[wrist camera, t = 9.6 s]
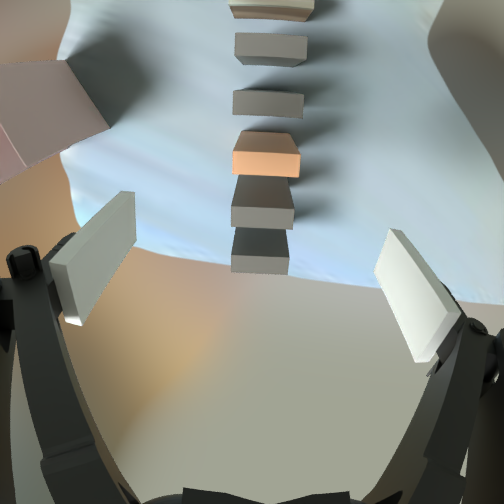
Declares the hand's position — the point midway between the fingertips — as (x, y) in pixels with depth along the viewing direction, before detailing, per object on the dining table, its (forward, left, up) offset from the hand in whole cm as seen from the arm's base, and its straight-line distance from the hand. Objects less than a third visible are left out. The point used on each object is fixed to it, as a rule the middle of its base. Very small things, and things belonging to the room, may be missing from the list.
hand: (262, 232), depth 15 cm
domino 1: (-10, 0, -19) cm, 22 cm away
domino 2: (-6, 0, -19) cm, 20 cm away
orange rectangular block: (-1, 0, -19) cm, 19 cm away
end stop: (-16, 0, -19) cm, 24 cm away
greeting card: (-7, -21, -19) cm, 29 cm away
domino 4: (+8, 0, -19) cm, 21 cm away
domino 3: (+3, 0, -19) cm, 19 cm away
